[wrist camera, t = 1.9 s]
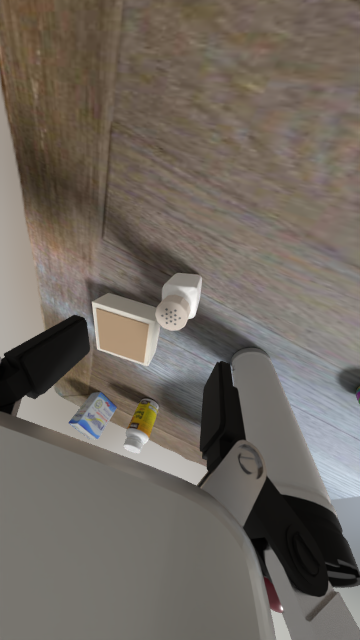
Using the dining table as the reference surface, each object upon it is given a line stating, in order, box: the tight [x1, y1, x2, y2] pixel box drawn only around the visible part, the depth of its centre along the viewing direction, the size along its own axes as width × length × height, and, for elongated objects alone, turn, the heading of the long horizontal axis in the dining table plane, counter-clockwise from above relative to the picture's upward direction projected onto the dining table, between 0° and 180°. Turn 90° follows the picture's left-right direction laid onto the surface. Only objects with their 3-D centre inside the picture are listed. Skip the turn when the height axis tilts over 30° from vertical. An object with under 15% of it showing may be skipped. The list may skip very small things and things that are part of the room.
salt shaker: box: [155, 273, 202, 331], centre depth 18 cm, size 4×4×10 cm
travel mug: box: [232, 348, 360, 588], centre depth 18 cm, size 6×7×20 cm
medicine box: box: [69, 392, 116, 439], centre depth 42 cm, size 8×4×9 cm, turn 28°
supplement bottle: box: [124, 399, 159, 453], centre depth 36 cm, size 6×6×10 cm
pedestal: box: [92, 293, 160, 366], centre depth 26 cm, size 10×10×4 cm
